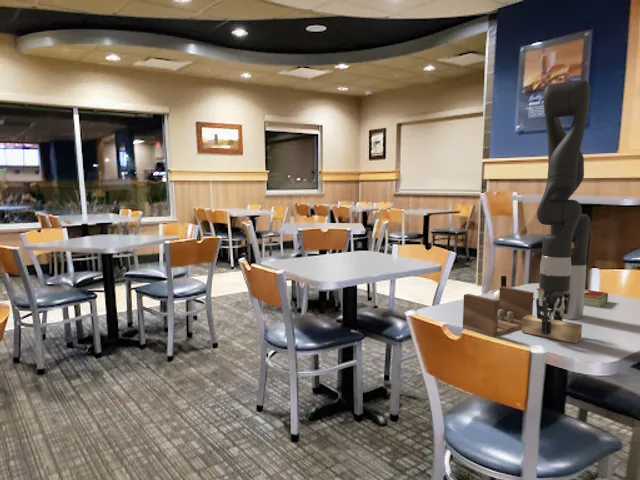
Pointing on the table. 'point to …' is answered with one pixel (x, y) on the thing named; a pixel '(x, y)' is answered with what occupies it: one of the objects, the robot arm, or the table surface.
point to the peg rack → (497, 311)
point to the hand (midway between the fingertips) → (551, 331)
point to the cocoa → (496, 295)
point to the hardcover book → (587, 297)
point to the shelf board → (553, 329)
